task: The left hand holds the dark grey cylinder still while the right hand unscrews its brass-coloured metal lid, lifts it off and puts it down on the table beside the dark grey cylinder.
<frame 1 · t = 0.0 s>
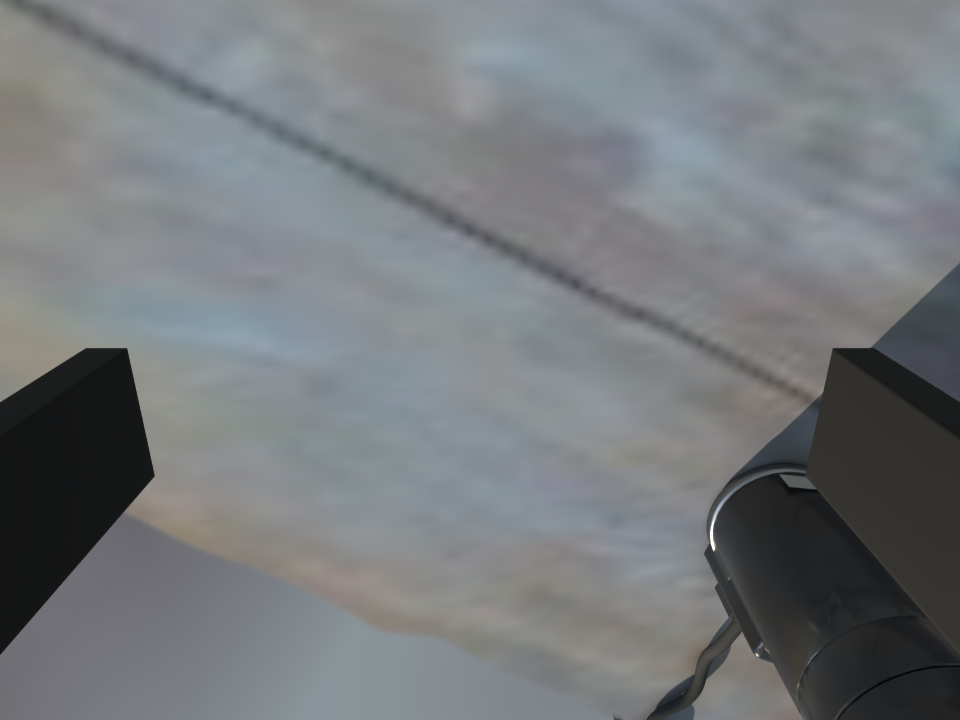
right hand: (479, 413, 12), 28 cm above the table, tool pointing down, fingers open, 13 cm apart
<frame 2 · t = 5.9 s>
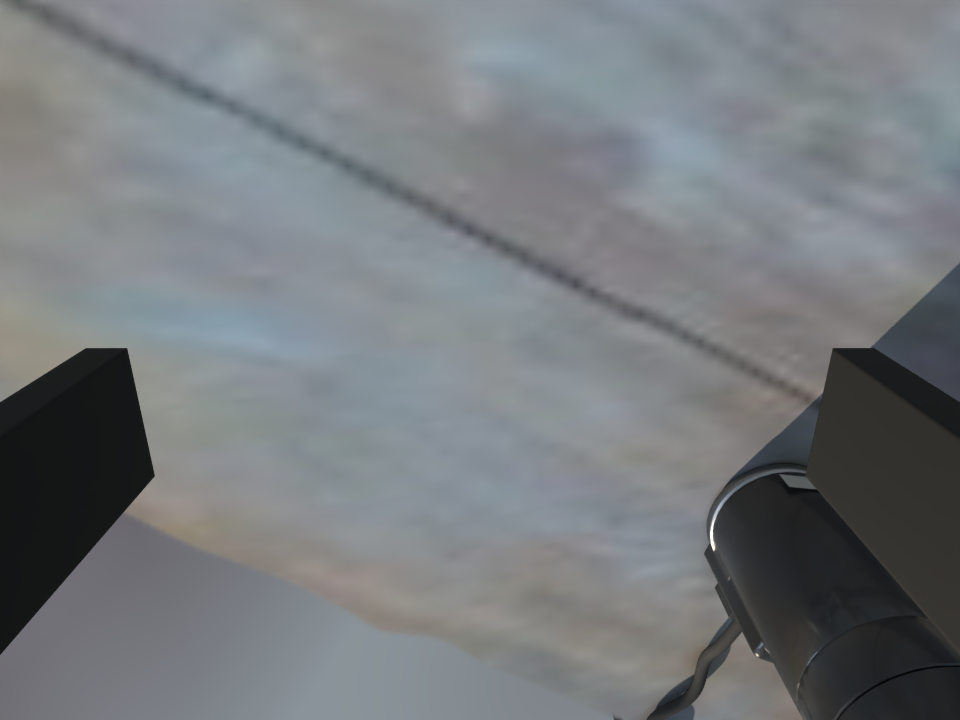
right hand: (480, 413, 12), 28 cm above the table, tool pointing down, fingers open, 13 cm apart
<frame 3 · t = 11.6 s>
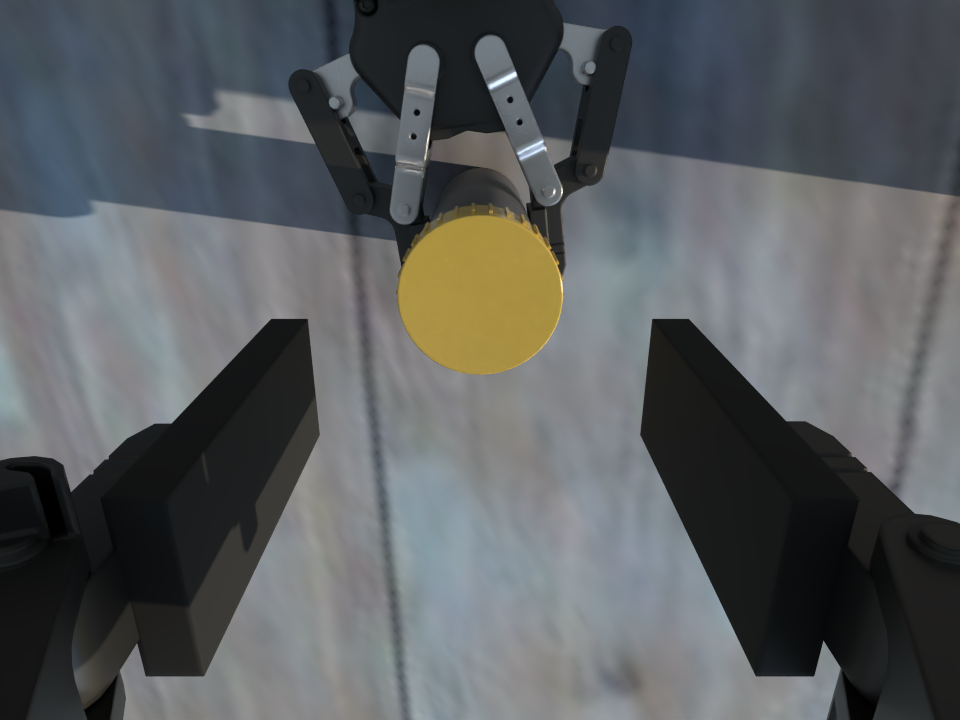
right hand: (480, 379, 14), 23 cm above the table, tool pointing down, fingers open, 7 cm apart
left hand: (488, 292, 30), fingers closed on dark grey cylinder, 4 cm apart
dark grey cylinder: (480, 210, 35), on the table, touching left hand
lid: (480, 295, 20), point 16 cm above the table, screwed on, not yet turned
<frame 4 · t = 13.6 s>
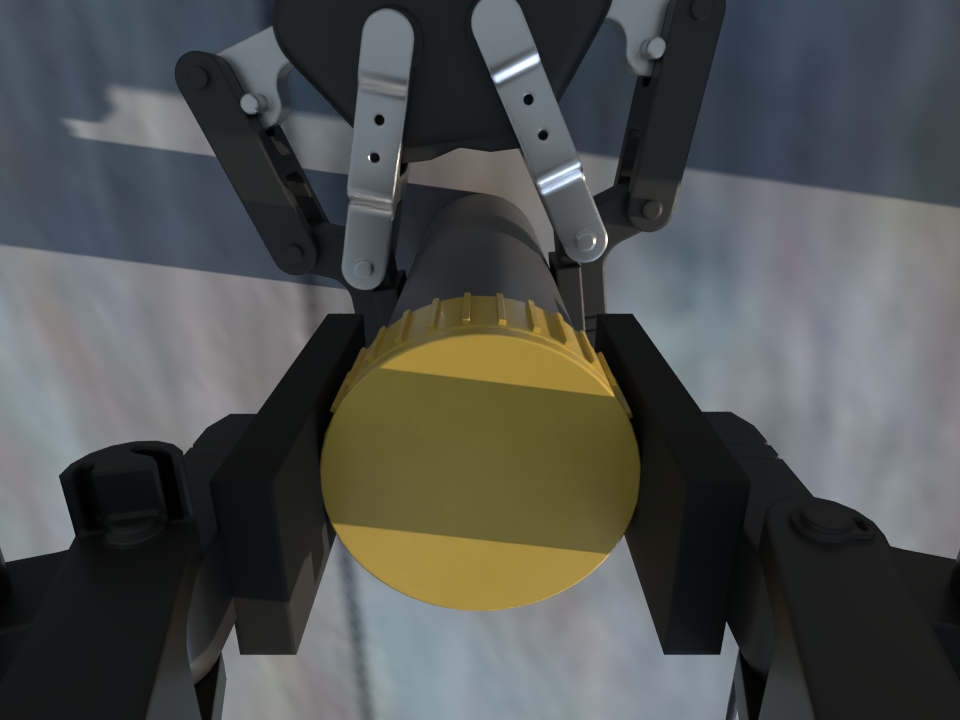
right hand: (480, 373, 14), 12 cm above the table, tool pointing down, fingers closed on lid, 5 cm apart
left hand: (491, 381, 20), fingers closed on dark grey cylinder, 4 cm apart
dark grey cylinder: (480, 252, 25), on the table, touching left hand
lid: (480, 473, 10), point 16 cm above the table, screwed on, not yet turned, touching right hand
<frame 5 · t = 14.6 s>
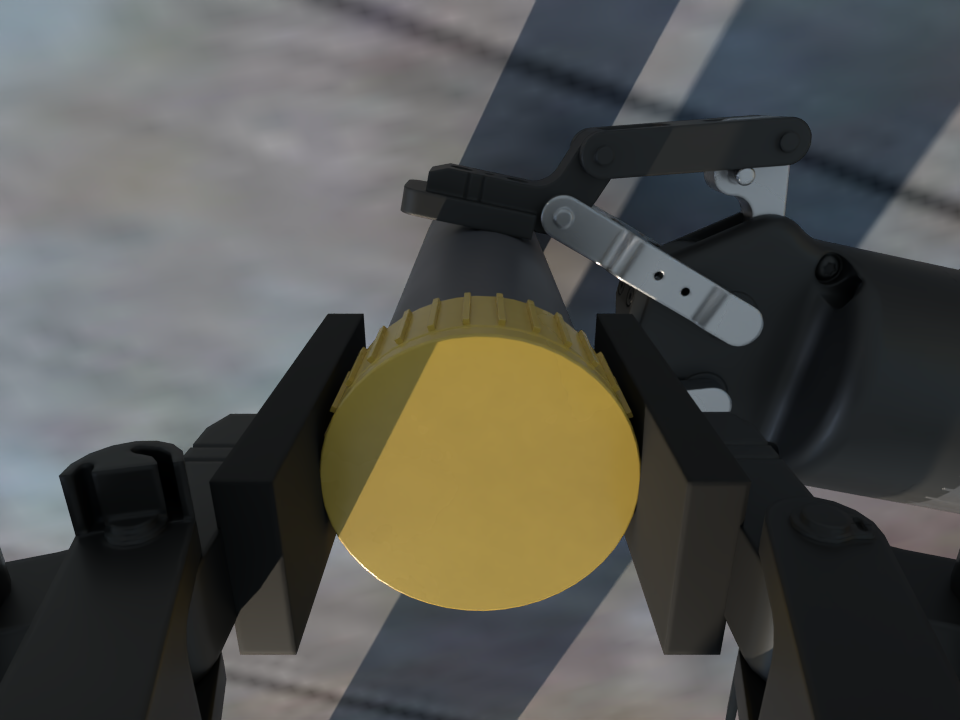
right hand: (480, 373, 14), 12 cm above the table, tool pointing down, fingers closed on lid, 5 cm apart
left hand: (393, 281, 19), fingers closed on dark grey cylinder, 4 cm apart
dark grey cylinder: (481, 251, 26), on the table, touching left hand
lid: (480, 473, 10), point 17 cm above the table, off its thread, touching right hand
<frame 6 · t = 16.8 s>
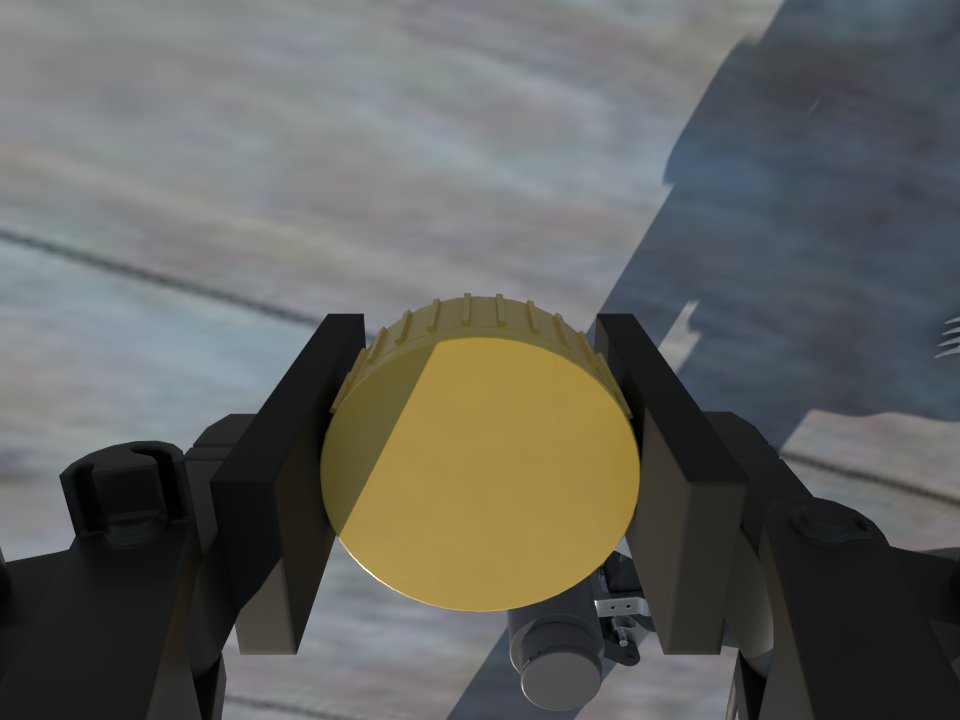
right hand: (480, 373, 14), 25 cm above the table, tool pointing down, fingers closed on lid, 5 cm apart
dark grey cylinder: (534, 483, 44), on the table, touching left hand
lid: (480, 474, 10), point 29 cm above the table, off its thread, touching right hand
when the right hand's fingers open (0 cm above the table, at t = 21.4 s): lid drops 3 cm, point 2 cm above the table.
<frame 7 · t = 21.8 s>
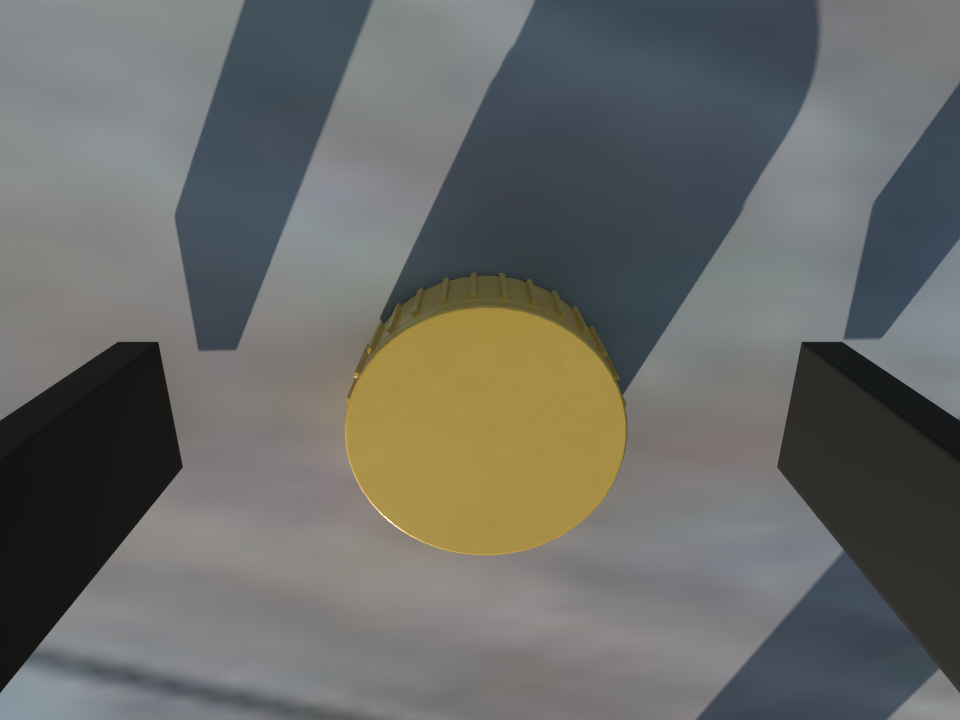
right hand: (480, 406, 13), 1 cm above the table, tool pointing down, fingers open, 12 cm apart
lid: (485, 431, 12), point 2 cm above the table, off its thread
when the left hand's fingers open (7 cm above the table, at t = 22.5 s): dark grey cylinder stays where it is, on the table.
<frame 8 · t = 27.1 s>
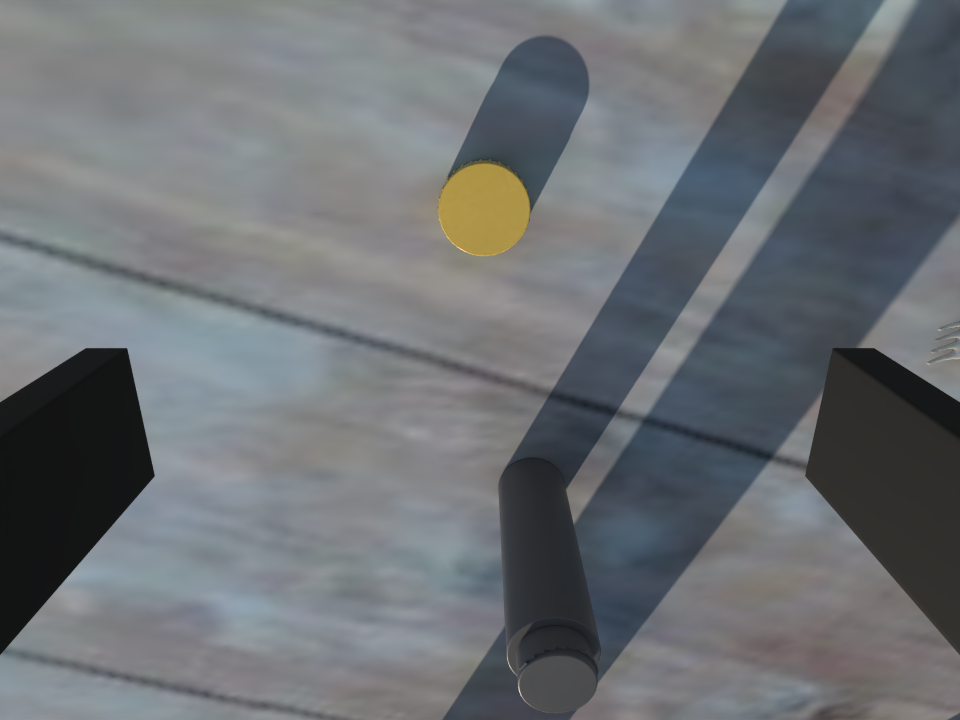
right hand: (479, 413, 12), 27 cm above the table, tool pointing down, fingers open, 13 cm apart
dark grey cylinder: (531, 486, 44), on the table
lid: (484, 209, 36), point 2 cm above the table, off its thread
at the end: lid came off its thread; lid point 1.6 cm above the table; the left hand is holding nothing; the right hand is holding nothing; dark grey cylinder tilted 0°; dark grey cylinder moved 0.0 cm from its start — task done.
